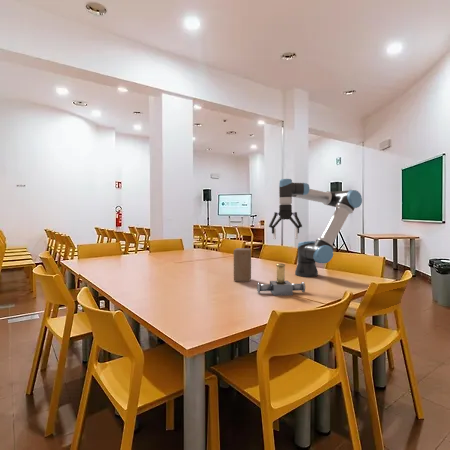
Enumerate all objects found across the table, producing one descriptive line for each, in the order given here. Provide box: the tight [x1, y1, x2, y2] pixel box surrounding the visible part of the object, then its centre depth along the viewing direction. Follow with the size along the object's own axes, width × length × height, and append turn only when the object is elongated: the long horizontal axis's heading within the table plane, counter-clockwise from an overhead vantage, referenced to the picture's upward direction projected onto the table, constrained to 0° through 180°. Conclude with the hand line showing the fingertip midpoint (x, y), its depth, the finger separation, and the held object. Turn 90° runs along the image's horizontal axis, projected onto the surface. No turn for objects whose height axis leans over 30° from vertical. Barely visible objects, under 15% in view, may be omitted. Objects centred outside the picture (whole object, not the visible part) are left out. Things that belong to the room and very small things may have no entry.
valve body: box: [256, 280, 306, 297], centre depth 165 cm, size 25×10×6 cm, turn 93°
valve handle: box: [275, 263, 286, 284], centre depth 165 cm, size 5×5×14 cm
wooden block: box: [233, 247, 252, 283], centre depth 197 cm, size 10×10×20 cm
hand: (285, 238), depth 191 cm, fingers open, 13 cm apart
